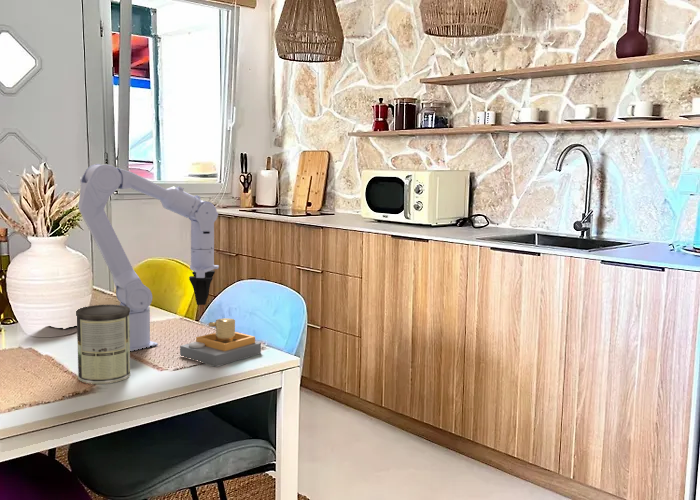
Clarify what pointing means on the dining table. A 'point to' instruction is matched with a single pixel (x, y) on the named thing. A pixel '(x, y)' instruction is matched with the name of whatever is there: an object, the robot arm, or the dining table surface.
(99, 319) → the coffee can
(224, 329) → the spout can
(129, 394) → the dining table surface
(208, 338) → the grey base with frame
